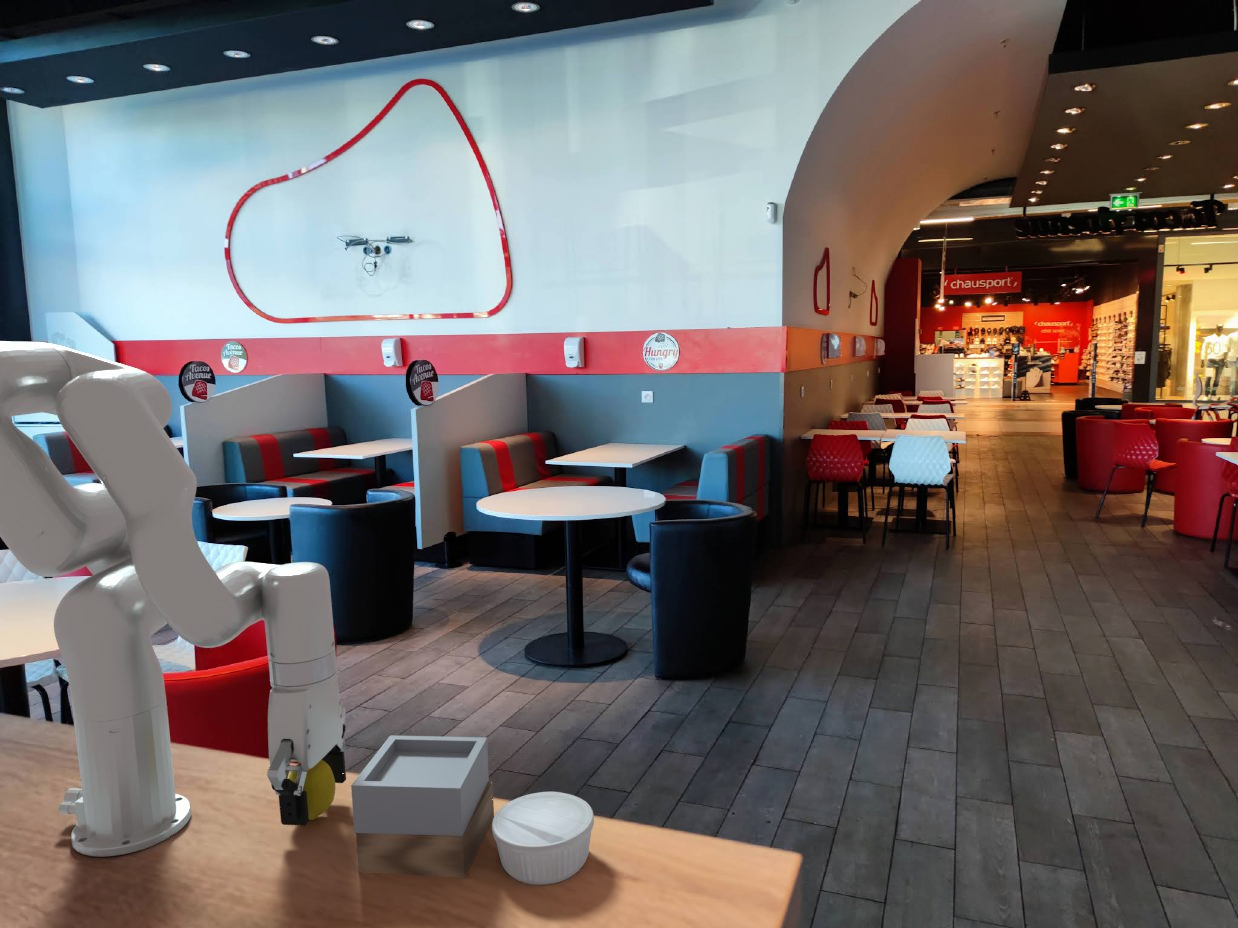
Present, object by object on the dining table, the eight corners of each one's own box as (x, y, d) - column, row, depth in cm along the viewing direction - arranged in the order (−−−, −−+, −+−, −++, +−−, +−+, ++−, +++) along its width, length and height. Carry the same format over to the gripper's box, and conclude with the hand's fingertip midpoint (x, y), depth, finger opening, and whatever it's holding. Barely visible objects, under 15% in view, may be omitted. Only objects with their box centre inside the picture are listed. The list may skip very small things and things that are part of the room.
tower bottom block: (358, 874, 94) (355, 832, 94) (399, 815, 106) (397, 777, 105) (464, 880, 93) (462, 837, 92) (494, 820, 105) (492, 781, 104)
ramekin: (485, 892, 90) (483, 845, 90) (502, 832, 101) (500, 790, 101) (591, 892, 90) (590, 845, 89) (597, 832, 101) (596, 790, 100)
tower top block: (354, 832, 94) (351, 785, 93) (392, 777, 105) (390, 735, 105) (462, 836, 92) (460, 788, 92) (488, 780, 104) (487, 737, 104)
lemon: (322, 833, 102) (317, 770, 101) (279, 829, 103) (275, 766, 102) (345, 809, 107) (341, 748, 106) (305, 805, 108) (301, 745, 107)
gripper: (308, 641, 111) (319, 766, 114) (232, 696, 94) (247, 841, 97) (363, 642, 110) (373, 768, 113) (296, 697, 93) (310, 843, 96)
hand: (315, 801), depth 105 cm, fingers open, 9 cm apart
